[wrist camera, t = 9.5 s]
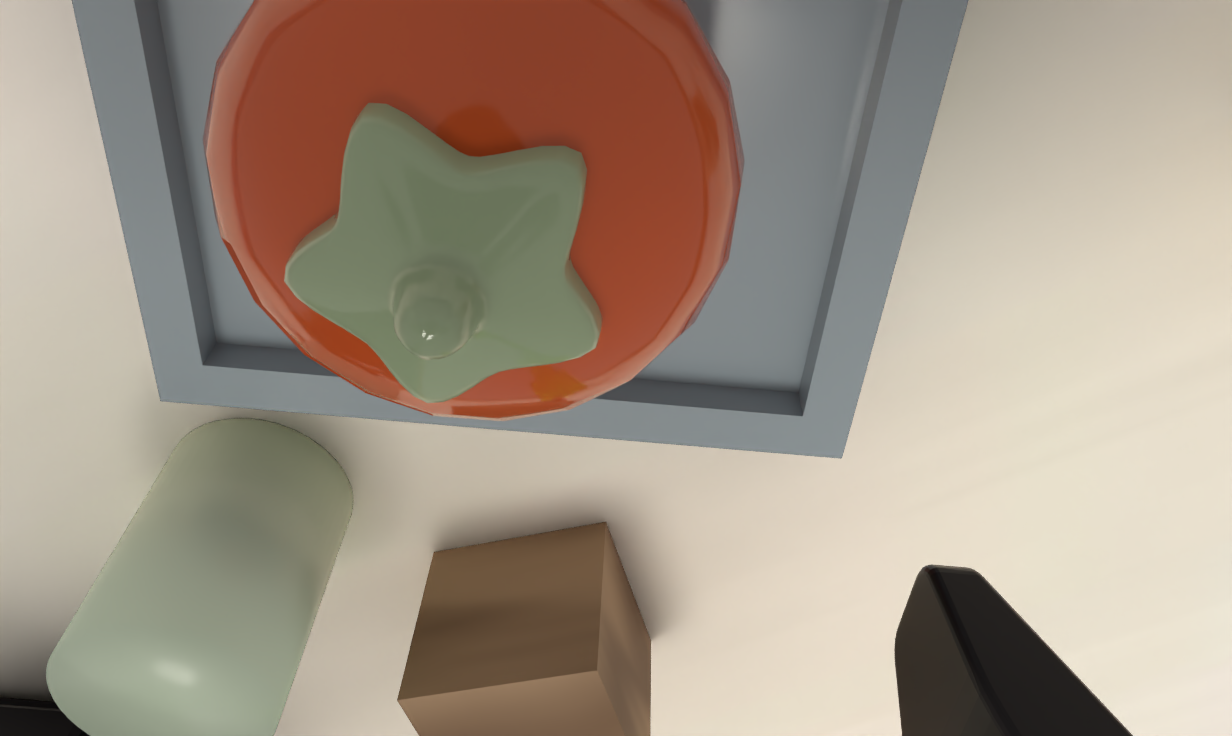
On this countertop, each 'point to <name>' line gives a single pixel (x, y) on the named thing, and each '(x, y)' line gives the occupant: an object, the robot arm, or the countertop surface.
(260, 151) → the tomato
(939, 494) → the countertop surface
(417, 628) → the walnut block
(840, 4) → the dish
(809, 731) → the countertop surface
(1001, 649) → the robot arm
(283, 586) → the sage green capsule
